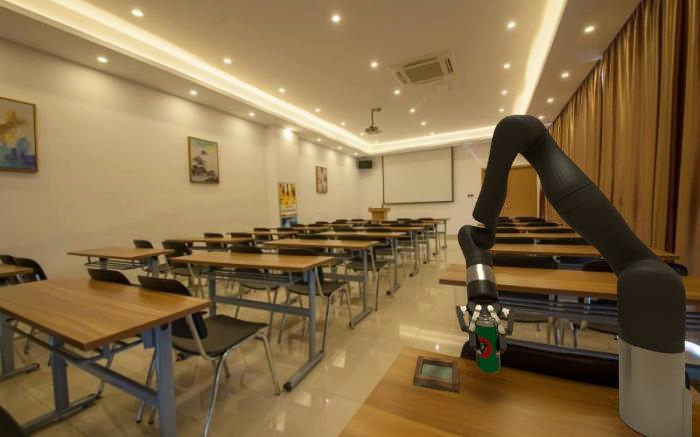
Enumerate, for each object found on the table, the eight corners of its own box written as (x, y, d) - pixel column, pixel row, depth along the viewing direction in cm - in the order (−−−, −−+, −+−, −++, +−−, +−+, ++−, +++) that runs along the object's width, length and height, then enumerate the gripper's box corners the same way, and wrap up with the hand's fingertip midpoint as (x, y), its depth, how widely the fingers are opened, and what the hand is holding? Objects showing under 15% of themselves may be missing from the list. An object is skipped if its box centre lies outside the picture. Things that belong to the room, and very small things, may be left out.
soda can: (503, 375, 65) (500, 323, 65) (479, 373, 66) (477, 322, 66) (496, 363, 70) (494, 314, 70) (474, 362, 71) (472, 314, 71)
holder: (458, 368, 82) (457, 360, 82) (458, 392, 71) (458, 383, 71) (418, 363, 85) (418, 355, 85) (413, 385, 75) (413, 376, 75)
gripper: (452, 277, 77) (454, 341, 66) (512, 278, 72) (526, 348, 61) (453, 291, 82) (455, 353, 72) (510, 293, 78) (521, 360, 67)
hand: (488, 350), depth 67 cm, fingers closed on soda can, 5 cm apart
